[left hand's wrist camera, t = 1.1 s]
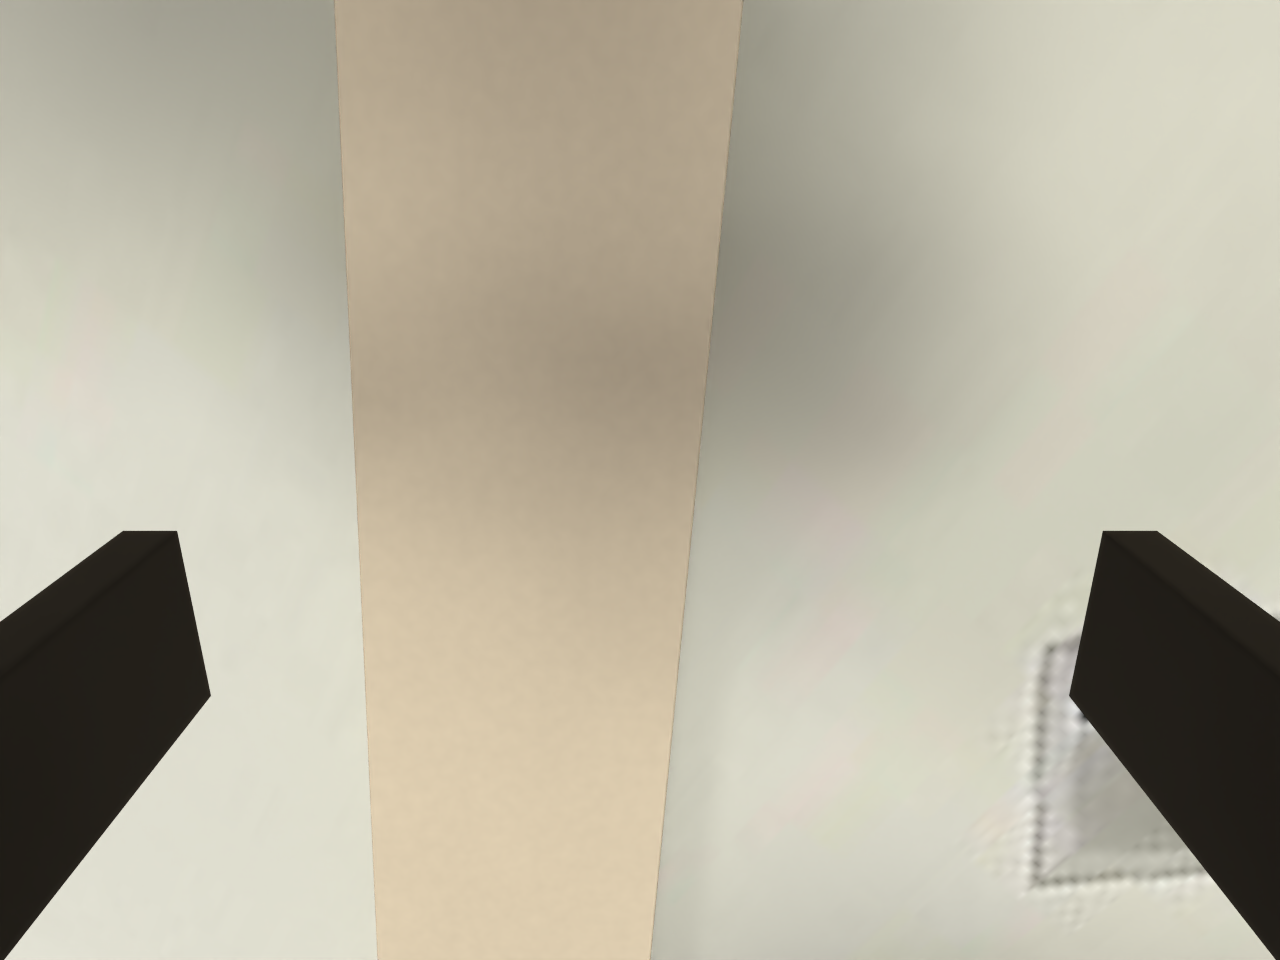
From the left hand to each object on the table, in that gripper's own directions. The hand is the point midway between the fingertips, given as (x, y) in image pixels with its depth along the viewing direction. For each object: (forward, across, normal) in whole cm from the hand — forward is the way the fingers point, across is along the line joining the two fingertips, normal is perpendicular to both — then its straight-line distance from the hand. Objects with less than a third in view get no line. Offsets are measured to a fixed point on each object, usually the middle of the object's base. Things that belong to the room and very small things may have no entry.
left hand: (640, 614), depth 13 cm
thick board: (+17, -4, -17) cm, 24 cm away
